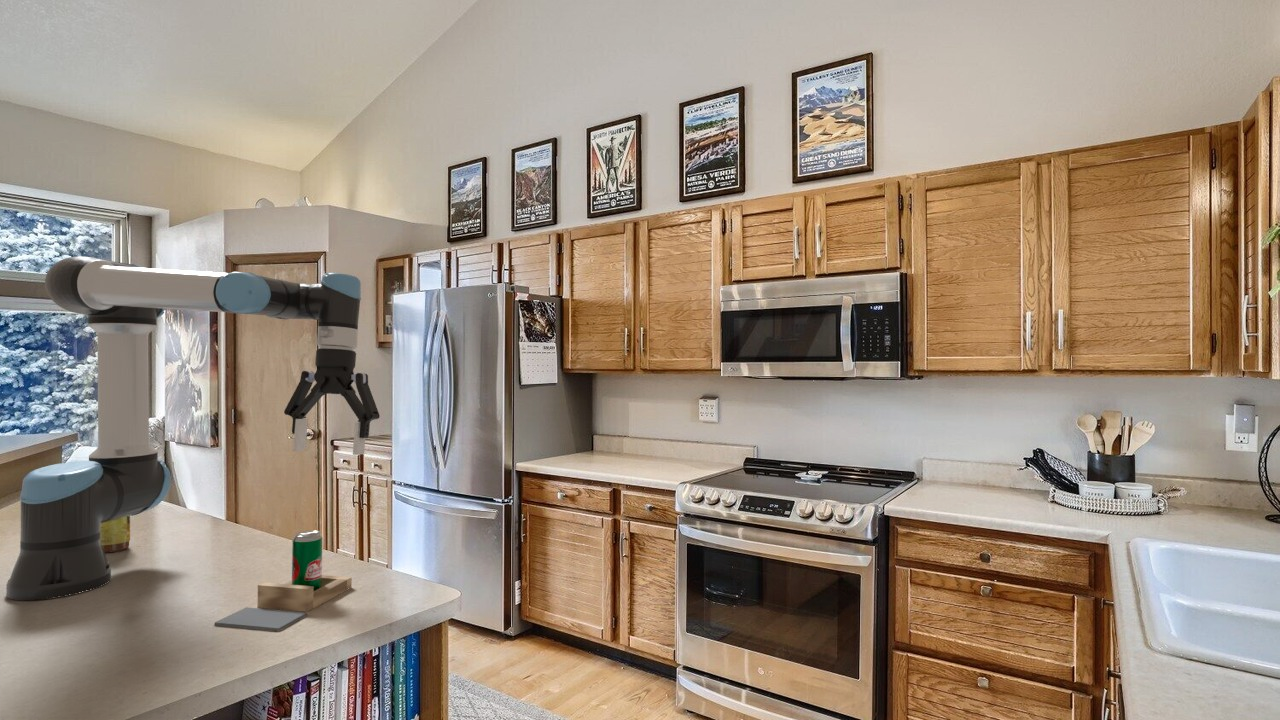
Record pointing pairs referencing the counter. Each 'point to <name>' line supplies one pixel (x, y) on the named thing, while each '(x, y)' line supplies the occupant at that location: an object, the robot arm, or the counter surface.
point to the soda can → (307, 559)
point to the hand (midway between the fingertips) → (328, 452)
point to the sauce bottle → (115, 534)
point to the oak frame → (300, 594)
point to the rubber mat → (261, 619)
